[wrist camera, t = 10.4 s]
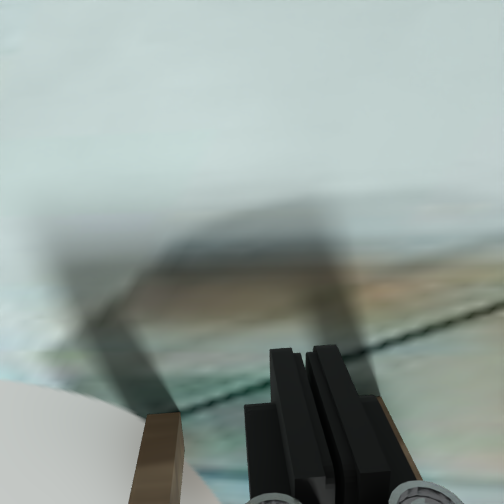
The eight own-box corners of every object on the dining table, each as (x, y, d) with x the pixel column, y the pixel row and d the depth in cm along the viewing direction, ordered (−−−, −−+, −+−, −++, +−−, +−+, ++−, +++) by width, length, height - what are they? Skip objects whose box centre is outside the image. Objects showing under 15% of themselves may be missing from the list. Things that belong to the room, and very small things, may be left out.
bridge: (147, 414, 28) (115, 564, 19) (380, 396, 29) (449, 533, 20) (153, 452, 29) (125, 610, 21) (378, 434, 30) (442, 579, 21)
